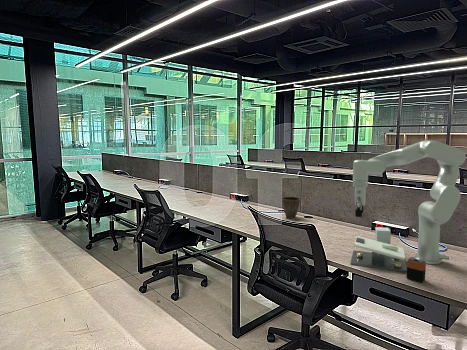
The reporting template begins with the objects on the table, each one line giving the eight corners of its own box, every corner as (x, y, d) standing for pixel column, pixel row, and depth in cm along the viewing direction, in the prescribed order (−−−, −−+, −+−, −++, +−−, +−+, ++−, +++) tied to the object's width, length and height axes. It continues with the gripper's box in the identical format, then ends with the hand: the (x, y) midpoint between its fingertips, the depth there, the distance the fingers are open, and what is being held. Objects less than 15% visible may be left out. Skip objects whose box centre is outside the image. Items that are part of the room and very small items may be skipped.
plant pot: (289, 214, 277) (289, 196, 275) (303, 217, 265) (303, 198, 264) (278, 217, 267) (278, 198, 266) (291, 220, 256) (292, 200, 254)
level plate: (402, 252, 172) (404, 244, 171) (404, 262, 157) (406, 254, 157) (355, 239, 181) (357, 232, 180) (353, 248, 167) (355, 240, 166)
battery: (409, 275, 152) (410, 255, 151) (425, 280, 147) (426, 259, 146) (405, 278, 149) (406, 258, 148) (422, 283, 144) (423, 261, 143)
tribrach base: (404, 258, 173) (404, 248, 173) (407, 272, 155) (407, 261, 155) (353, 251, 184) (353, 242, 184) (350, 264, 166) (350, 254, 166)
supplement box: (387, 248, 190) (388, 227, 188) (390, 252, 182) (391, 231, 181) (374, 247, 192) (375, 226, 190) (376, 251, 185) (377, 230, 183)
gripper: (366, 185, 160) (365, 219, 162) (368, 181, 176) (367, 211, 178) (351, 185, 164) (350, 217, 166) (354, 180, 179) (353, 210, 181)
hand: (359, 214), depth 172 cm, fingers open, 9 cm apart
